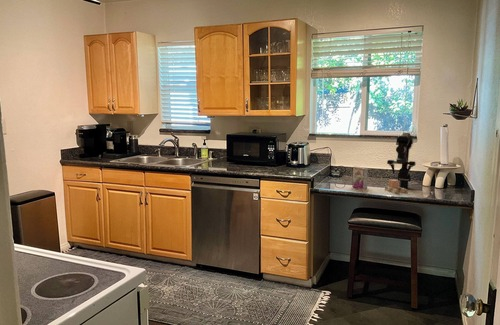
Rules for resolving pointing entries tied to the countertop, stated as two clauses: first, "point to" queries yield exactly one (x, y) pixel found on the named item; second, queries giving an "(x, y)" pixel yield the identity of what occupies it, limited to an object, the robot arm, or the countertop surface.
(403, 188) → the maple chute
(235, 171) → the countertop surface
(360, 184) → the candy bar box
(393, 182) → the terracotta block
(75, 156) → the countertop surface
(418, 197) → the countertop surface
